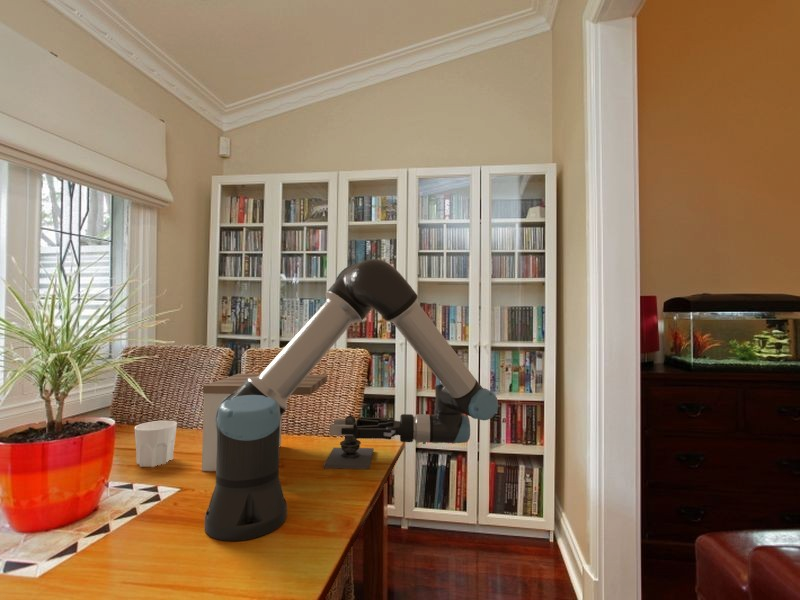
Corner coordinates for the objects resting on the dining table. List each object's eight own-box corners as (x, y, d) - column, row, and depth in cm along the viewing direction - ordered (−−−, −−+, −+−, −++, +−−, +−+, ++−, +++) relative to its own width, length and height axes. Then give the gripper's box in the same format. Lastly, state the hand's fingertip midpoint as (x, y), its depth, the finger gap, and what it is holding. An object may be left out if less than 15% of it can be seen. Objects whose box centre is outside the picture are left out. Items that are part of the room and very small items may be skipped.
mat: (368, 469, 108) (369, 465, 108) (323, 468, 109) (323, 464, 109) (373, 451, 122) (373, 448, 122) (333, 450, 123) (333, 447, 123)
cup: (129, 461, 112) (130, 425, 113) (169, 453, 119) (170, 418, 120) (138, 471, 105) (140, 432, 106) (180, 462, 112) (181, 425, 113)
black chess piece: (348, 450, 120) (348, 409, 120) (364, 454, 117) (364, 411, 117) (335, 456, 115) (335, 413, 115) (352, 460, 112) (352, 416, 112)
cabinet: (308, 473, 105) (310, 387, 106) (200, 471, 105) (203, 385, 106) (326, 446, 127) (327, 374, 128) (236, 444, 127) (238, 373, 128)
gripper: (414, 452, 106) (325, 451, 107) (413, 432, 125) (337, 431, 125) (414, 423, 106) (325, 421, 107) (413, 407, 125) (338, 406, 125)
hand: (332, 426), depth 116 cm, fingers open, 5 cm apart
